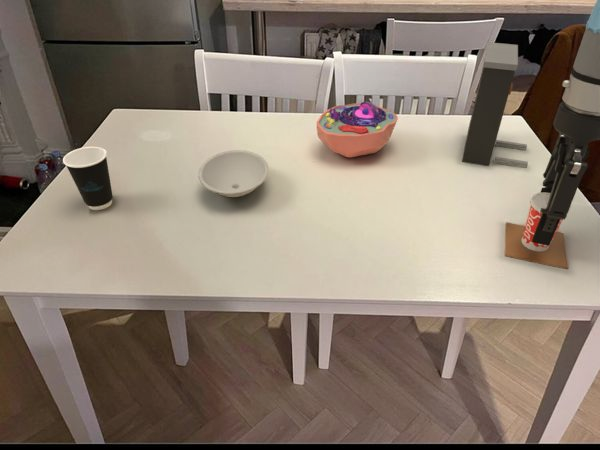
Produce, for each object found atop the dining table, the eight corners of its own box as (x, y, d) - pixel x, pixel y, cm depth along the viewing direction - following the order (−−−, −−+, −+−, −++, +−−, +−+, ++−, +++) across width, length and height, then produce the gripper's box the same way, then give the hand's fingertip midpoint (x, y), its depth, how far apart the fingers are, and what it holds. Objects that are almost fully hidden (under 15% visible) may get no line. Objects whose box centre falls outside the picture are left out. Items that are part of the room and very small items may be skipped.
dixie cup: (93, 219, 91) (76, 170, 84) (72, 205, 95) (54, 157, 88) (128, 201, 95) (114, 154, 89) (106, 188, 100) (92, 142, 93)
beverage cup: (512, 232, 86) (534, 166, 77) (545, 233, 86) (572, 167, 77) (523, 254, 81) (548, 186, 73) (559, 254, 81) (588, 186, 72)
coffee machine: (525, 144, 115) (556, 48, 101) (526, 172, 104) (560, 69, 90) (465, 136, 119) (487, 42, 105) (460, 162, 108) (484, 61, 94)
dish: (271, 212, 92) (269, 191, 89) (198, 216, 91) (194, 195, 88) (268, 168, 106) (267, 148, 103) (205, 170, 105) (202, 151, 102)
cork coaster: (563, 234, 86) (563, 233, 86) (567, 269, 78) (568, 267, 78) (505, 223, 89) (506, 222, 88) (504, 256, 81) (505, 254, 81)
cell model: (301, 147, 114) (300, 103, 107) (364, 127, 123) (368, 86, 116) (342, 177, 103) (344, 130, 96) (409, 153, 111) (415, 108, 104)
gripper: (556, 81, 76) (517, 198, 90) (565, 129, 62) (517, 260, 75) (607, 86, 74) (559, 206, 88) (629, 138, 59) (567, 270, 73)
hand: (539, 230), depth 82 cm, fingers open, 6 cm apart
